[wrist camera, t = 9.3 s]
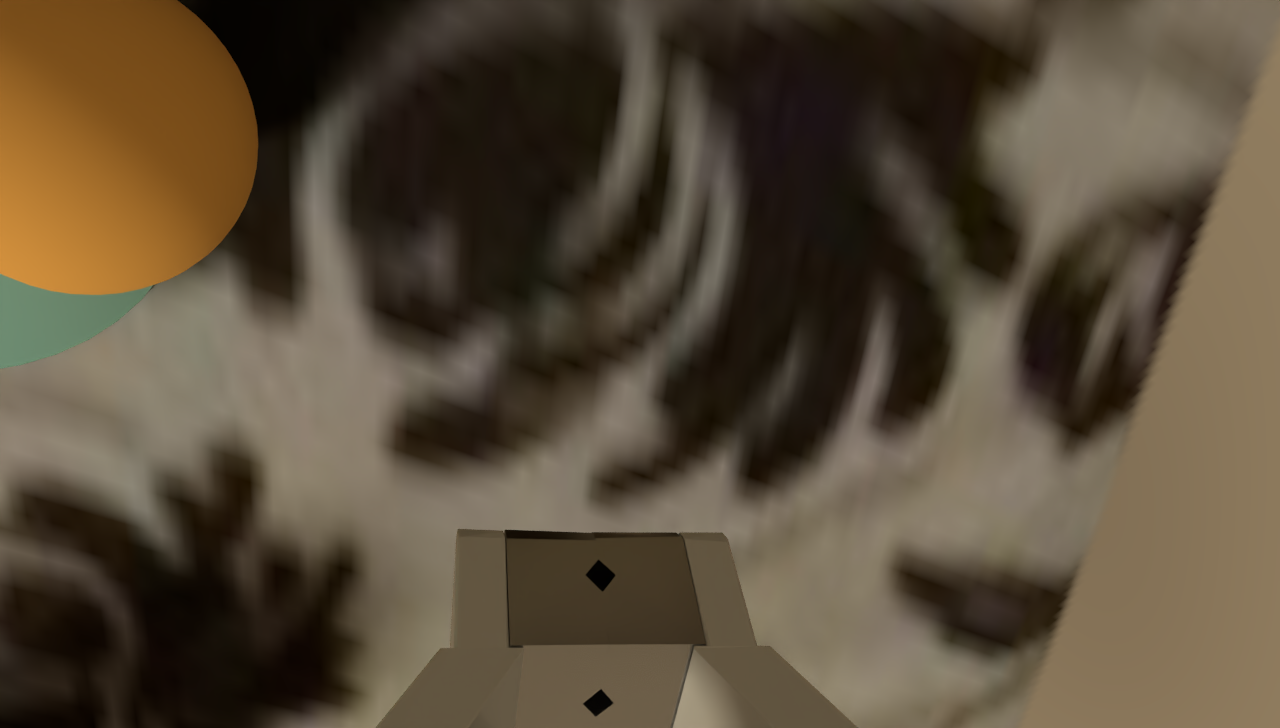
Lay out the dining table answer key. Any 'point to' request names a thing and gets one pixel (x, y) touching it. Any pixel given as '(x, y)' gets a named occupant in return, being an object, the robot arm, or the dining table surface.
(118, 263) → the ball
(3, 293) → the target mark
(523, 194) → the dining table surface
